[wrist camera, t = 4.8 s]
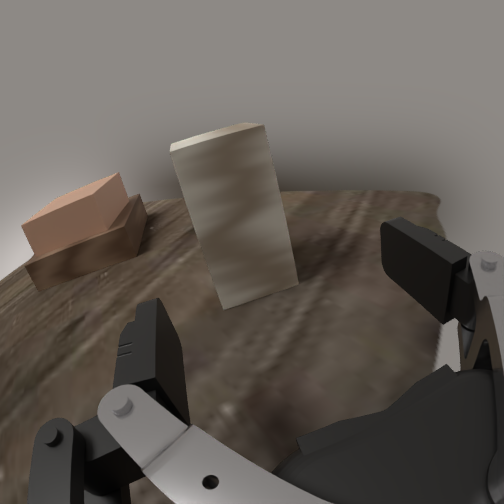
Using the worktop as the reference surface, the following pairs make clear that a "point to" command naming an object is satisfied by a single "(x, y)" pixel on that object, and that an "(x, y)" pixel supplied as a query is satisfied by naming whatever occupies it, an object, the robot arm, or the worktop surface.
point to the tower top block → (76, 215)
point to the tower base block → (92, 249)
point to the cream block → (236, 211)
